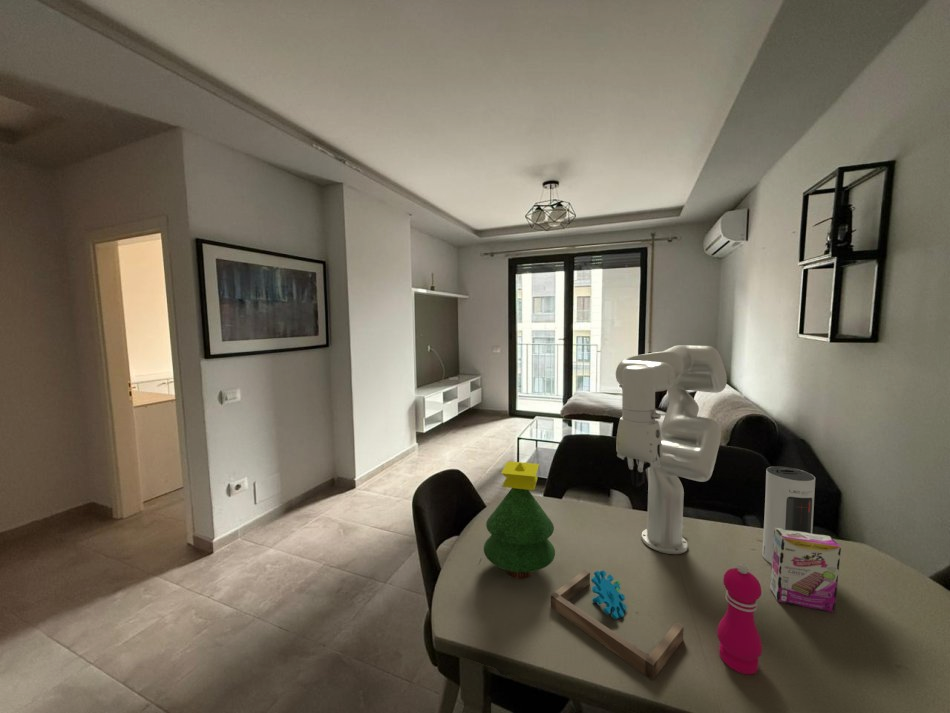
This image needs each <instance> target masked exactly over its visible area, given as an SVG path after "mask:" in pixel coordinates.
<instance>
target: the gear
mask: <svg viewBox="0 0 950 713" xmlns="http://www.w3.org/2000/svg"><path fill="white" fill-rule="evenodd" d="M593 574H594V576H592V578H590V582H592V584H594V586H592V588H591V589H592V593H593V594H597V596H595V597H593V598H592V599H591V600H592V603H593V604H596V603H597V604H598V606H601V605H602V604H605V605H606V607H605V606H604V607H603V609H602V610H603V611H604V613H605V615H606V616H607V615H609V614H611V615H610V616H611V617H612V618H613V619H614V620H618V619H619V618H622V617H624V616H625V613H624V611H626V610H627V605H626V604H625V603H623V602H624V601H625V600H626V597H625V594H624V593H620V590H621V581H620V580H619V579H616V581H615V580H614V577H613V575H612V574H608V575H607V572H606V571H605V570H603V569H602V570H600V571H598V570H597V571H594V572H593ZM612 581H614V582H613V584H612ZM611 611H612V612H611Z"/></svg>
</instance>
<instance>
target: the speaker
mask: <svg viewBox="0 0 950 713" xmlns="http://www.w3.org/2000/svg"><path fill="white" fill-rule="evenodd" d="M765 470H766V471H765V472H766V473H765V498H764V501H765V502H764V520H763V536H762V539H763V540H762V551H761V552H762V553H761V555H762V556H761V557H763V559H764V560H765V561H766V562H767V563H768V564H770V565H772V554H773V542H774V530H775V528H780V529H786V530H793V531H799V532H806V533H813V525H814V510H815V509H814V506H815V490H816V489H815V488H816V477H815V476H814V475H813V474H812V473H810V472H807V471H804V470H801V469H798V468H793V467H788V466H779V465H777V466H769V467H767V468H766V469H765Z"/></svg>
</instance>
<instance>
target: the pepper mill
mask: <svg viewBox="0 0 950 713" xmlns="http://www.w3.org/2000/svg"><path fill="white" fill-rule="evenodd" d="M722 581H723V585H724V588H725V600H726V601H727V609H726V612H725V614H724V616H723V617H722V618H721V620H719V623H718V626H717V630H716V635H717V639H718V641H719V646H718V647H719V649H718V654H719V657H720V659H721V660H722V661H723V663H724V664H726V665H727V666H728V667H729V668H730V669H732V670H733V671H735V672H737V673H740V674H743V675H753V674H756V673H757V672H758V669H759V660H758V659H759V658H760V657H761V656H762V654H763V643H762V639H761V636H760V634H759V631H758V628H757V626H756V624H755V615H754V613H755V611H757V610H758V600H759V599H760V597H761V596H762V586H761V583H760V581H759V580H758V578H757V577H756V576H755V575H754V574H752V573H751V572H749V568H748V566H747V565H746V564H744V563H739V564H737V566H736V568H735V567H733V568H729V569H728V570H726V571H725V573H724V574H723V580H722Z"/></svg>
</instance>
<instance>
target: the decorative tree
mask: <svg viewBox="0 0 950 713" xmlns="http://www.w3.org/2000/svg"><path fill="white" fill-rule="evenodd" d="M539 466H540V463H531V462H520V461H510V460H509V461H508V460H507V462H506V463H505V465H504V467H503V469H502V471H501V474H502V475H503V476H504V477H505V479H504V481H503V483H502V486H501V488H509V489H510V490H509V491H508V492H507V494H506V495H505V496H504V497H503V499H502V500H501V502H500V503H499V504H498V506H497V507H496V508H495V510H494V511H493V512H492V513H491V514H490V515H489V517H488V518H487V520H486V524H485V526H486V530H487V531H488V533H489V534H490V536H489V537H488V538H487V540H486V541H485V542H484V543H483V553H484V556H485V558H486V559H487V560H488V561H489V562H490V563H492V564H493V565H494V566H496V567H498V568H500V569H503V570H504V571H505V573H506V575H507V576H509V577H510V578H512V579H514V580H525V579H528V578H529V577H531V576H532V573H533V572H537V571H539V570H543V569H544V568H545V569H546V567H548V566H549V565H550V564H552V562H553V561H554V559H555V558H556V550H555V547H554V545H553V544H552V542H551V541H550V539H549V538H550V537H551V536H552V534H553V533H554V530H555V525H554V523H553V521H552V520H551V519H550V518H549V516H548V515H547V514H546V512H545V511H544V509H543V508H542V507H541V505H540V504H539V502H538V501H537V499H536V498H535V497H534V495H533V494H532V493H531V492H530V491H535V489H536V485H537V481H538V476H537V473H538V470H539Z"/></svg>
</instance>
